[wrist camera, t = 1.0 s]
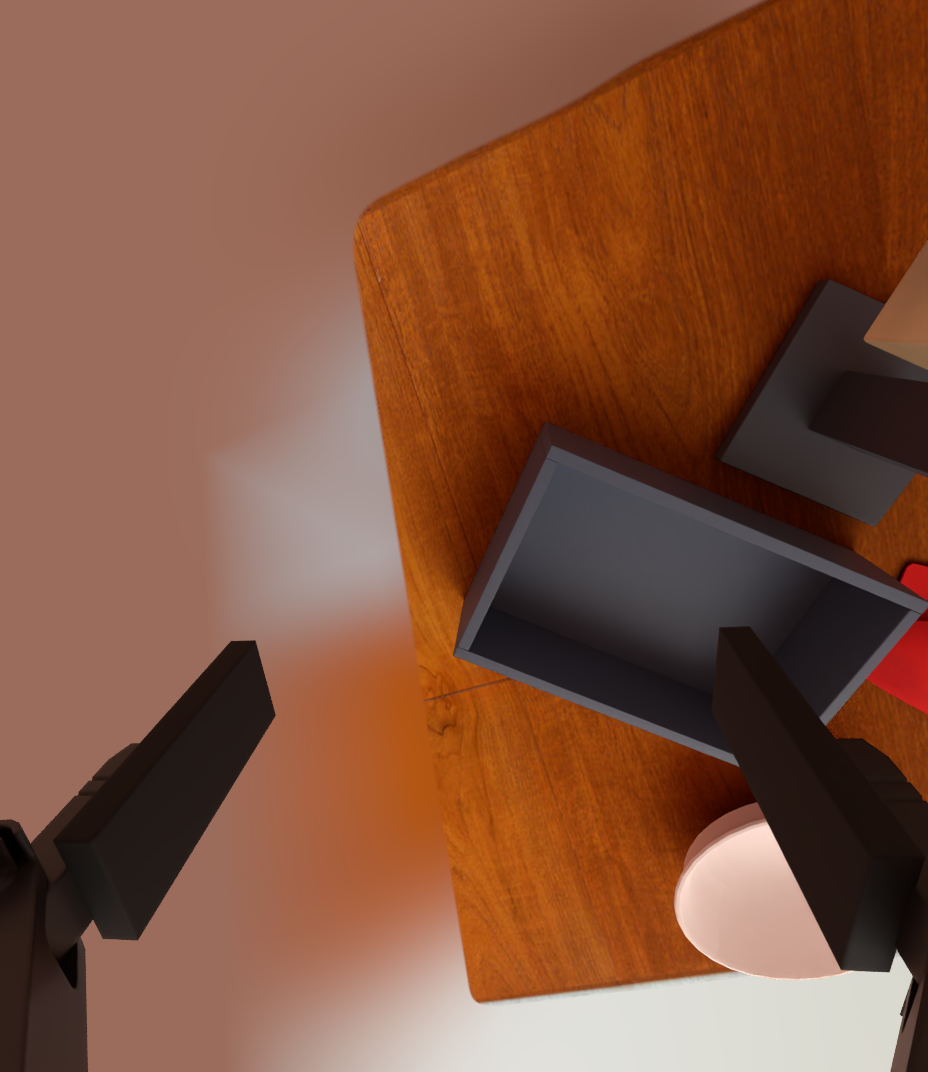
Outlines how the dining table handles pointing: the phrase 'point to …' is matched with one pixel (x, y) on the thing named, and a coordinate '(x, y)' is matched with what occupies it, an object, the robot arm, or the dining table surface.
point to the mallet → (905, 316)
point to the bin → (665, 594)
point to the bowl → (749, 903)
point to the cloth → (908, 652)
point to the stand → (835, 412)
